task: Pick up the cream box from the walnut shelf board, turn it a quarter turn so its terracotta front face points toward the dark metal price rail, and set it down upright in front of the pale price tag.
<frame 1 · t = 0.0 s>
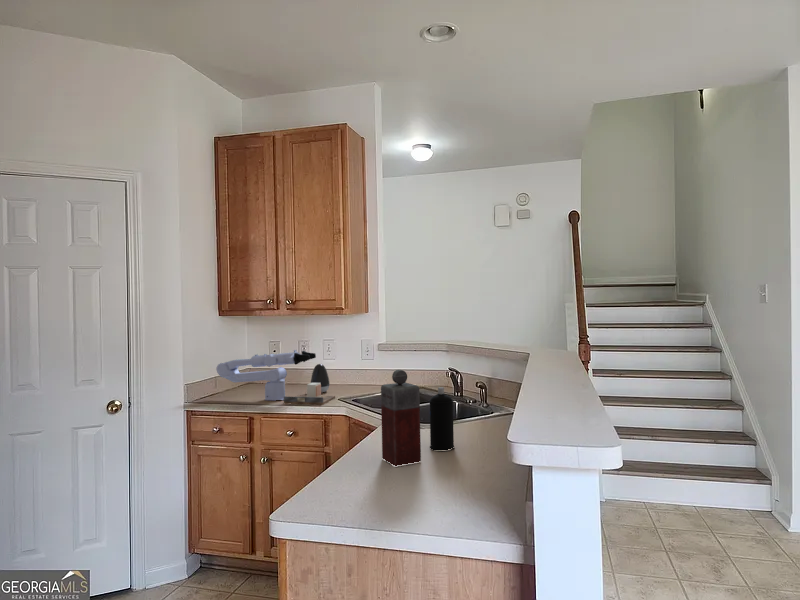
hand: (312, 356, 262), 22 cm above the countertop, tool horizontal, fingers open, 7 cm apart
black rounded upright piece: (320, 392, 285), on the countertop
pepper mill: (399, 460, 163), on the countertop
aerosol can: (442, 448, 176), on the countertop
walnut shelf: (310, 400, 261), on the countertop
cream box: (321, 398, 263), point 1 cm above the countertop, touching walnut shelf
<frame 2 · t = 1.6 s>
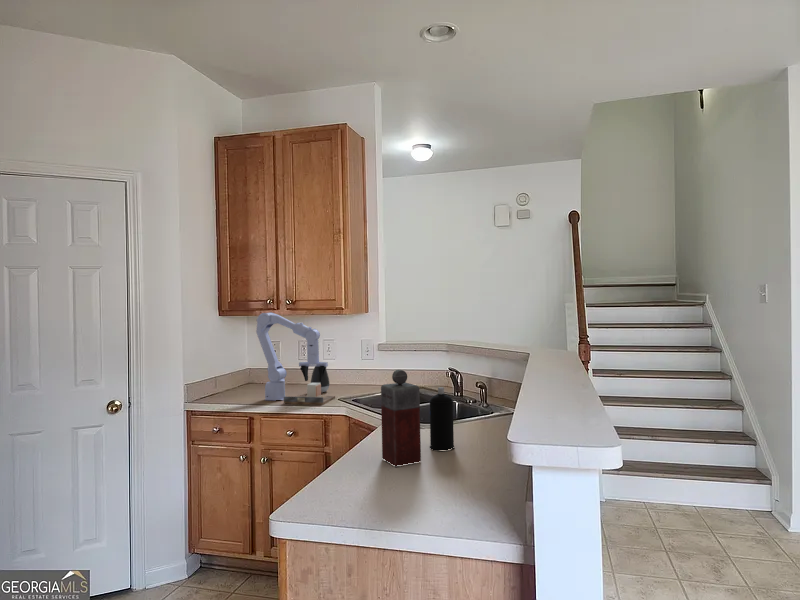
hand: (313, 380, 263), 9 cm above the countertop, tool pointing down, fingers open, 7 cm apart
nothing on the countertop moved.
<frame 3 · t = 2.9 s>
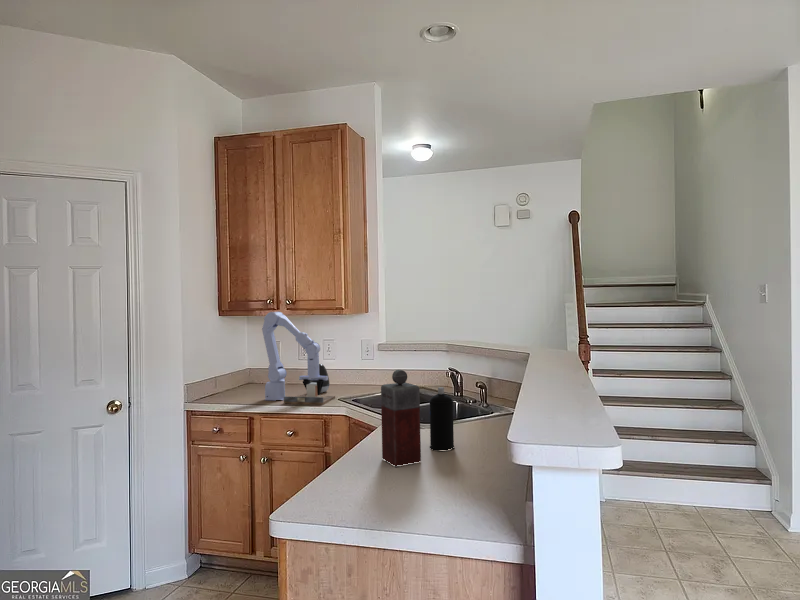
hand: (313, 394, 263), 3 cm above the countertop, tool pointing down, fingers closed on cream box, 5 cm apart
cream box: (321, 397, 263), point 1 cm above the countertop, touching gripper
everything else where it was.
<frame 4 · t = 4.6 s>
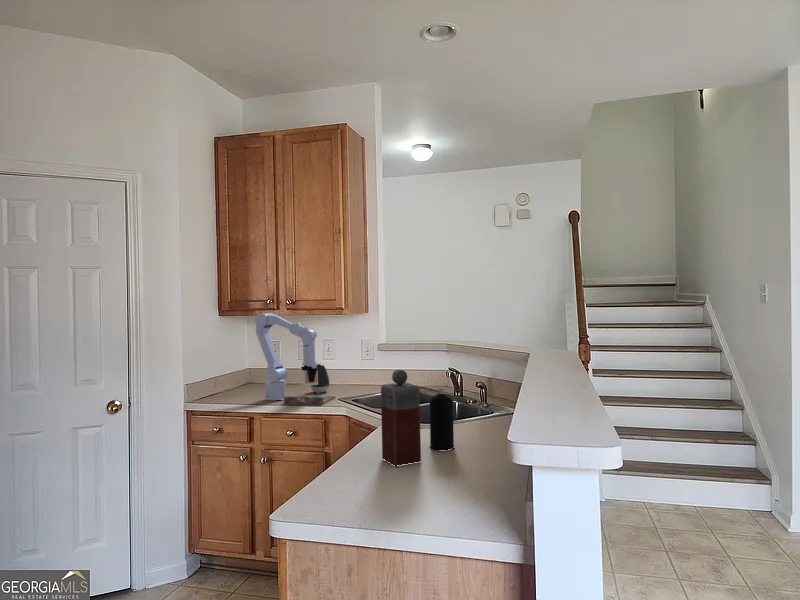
hand: (309, 381, 261), 10 cm above the countertop, tool pointing down, fingers closed on cream box, 5 cm apart
cream box: (312, 385, 258), point 8 cm above the countertop, touching gripper
everything else where it was.
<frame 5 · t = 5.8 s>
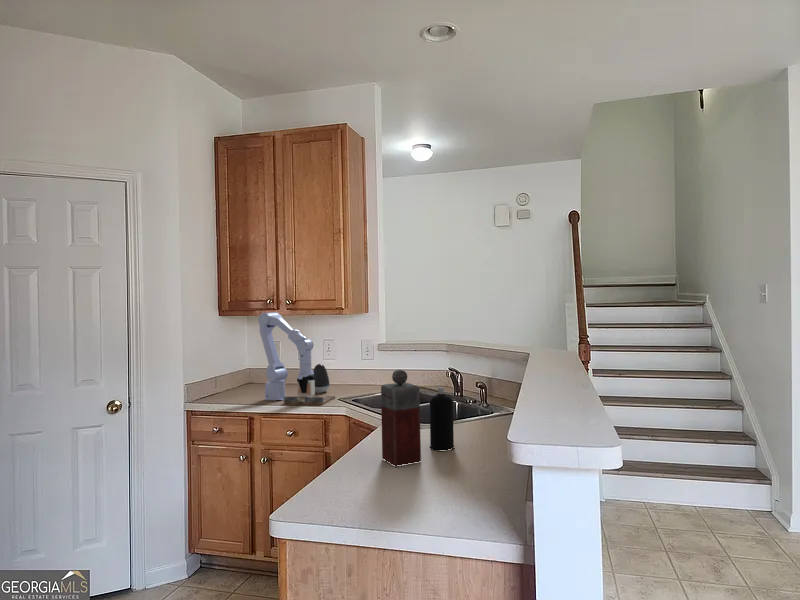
hand: (306, 391, 259), 5 cm above the countertop, tool pointing down, fingers closed on cream box, 5 cm apart
cream box: (303, 396, 255), point 3 cm above the countertop, touching gripper
everything else where it was.
when the fingers open (4 cm above the countertop, at t = 6.5 s): cream box drops 1 cm, resting on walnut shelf.
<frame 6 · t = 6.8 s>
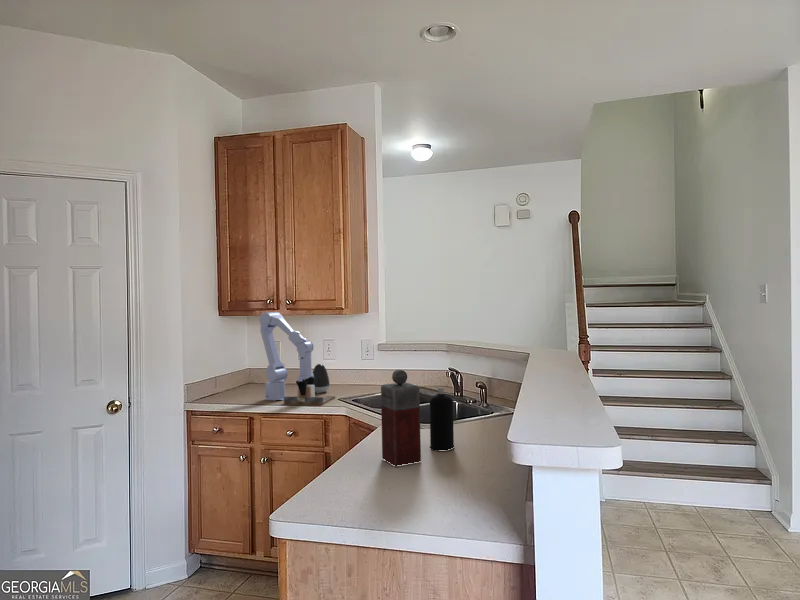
hand: (306, 393, 259), 4 cm above the countertop, tool pointing down, fingers open, 7 cm apart
cream box: (303, 401, 255), point 1 cm above the countertop, touching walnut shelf
everything else where it was.
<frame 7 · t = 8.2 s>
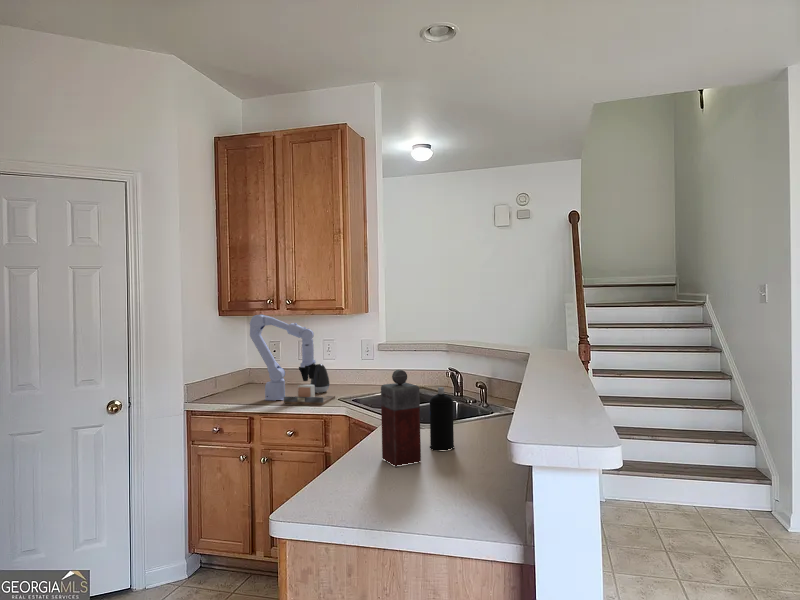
hand: (308, 379, 267), 9 cm above the countertop, tool pointing down, fingers open, 7 cm apart
nothing on the countertop moved.
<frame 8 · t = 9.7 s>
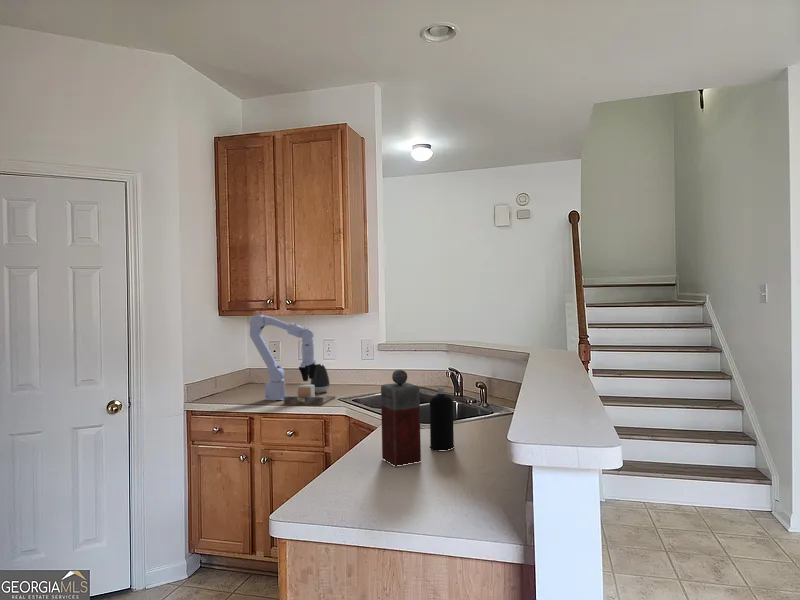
hand: (308, 379, 267), 9 cm above the countertop, tool pointing down, fingers open, 7 cm apart
nothing on the countertop moved.
at the end: cream box 0.2 cm from the target spot, point 1.0 cm above the countertop; cream box tilted 0°; cream box touching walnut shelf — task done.
